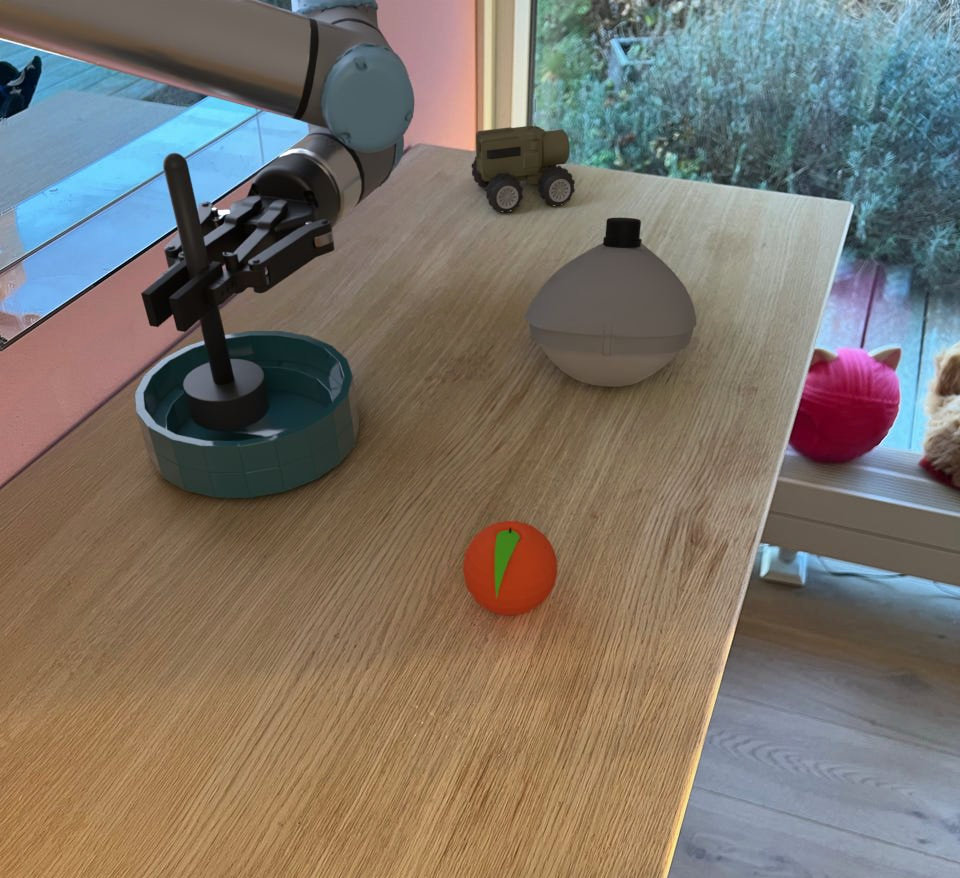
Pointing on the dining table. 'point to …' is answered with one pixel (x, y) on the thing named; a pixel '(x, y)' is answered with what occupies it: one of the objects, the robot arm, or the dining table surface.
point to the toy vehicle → (522, 165)
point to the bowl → (267, 443)
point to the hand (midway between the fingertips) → (163, 312)
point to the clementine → (510, 567)
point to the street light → (613, 311)
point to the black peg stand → (212, 330)
